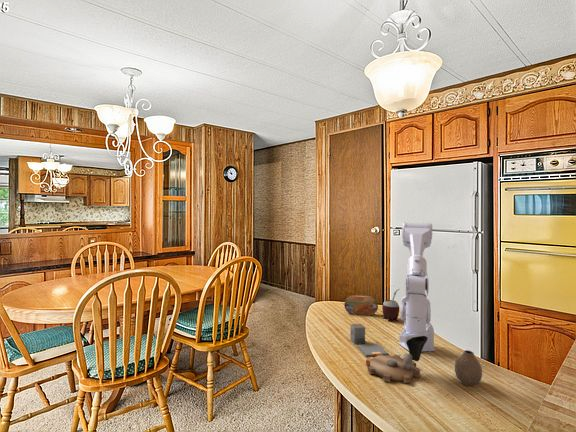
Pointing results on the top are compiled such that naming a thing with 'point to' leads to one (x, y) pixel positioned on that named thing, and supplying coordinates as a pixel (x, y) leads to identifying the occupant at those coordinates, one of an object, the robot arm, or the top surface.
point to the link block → (357, 334)
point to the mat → (372, 349)
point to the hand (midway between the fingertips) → (414, 359)
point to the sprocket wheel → (393, 367)
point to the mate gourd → (390, 309)
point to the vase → (468, 369)
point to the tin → (361, 305)
